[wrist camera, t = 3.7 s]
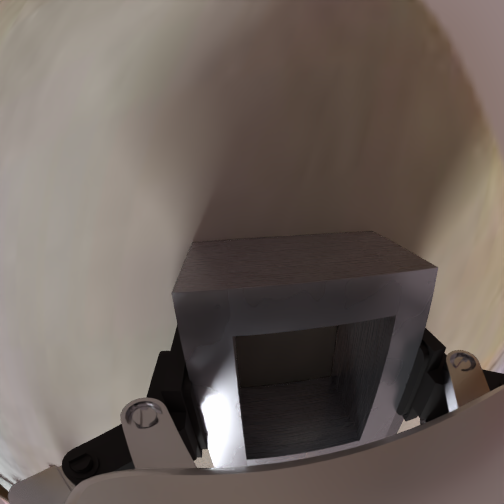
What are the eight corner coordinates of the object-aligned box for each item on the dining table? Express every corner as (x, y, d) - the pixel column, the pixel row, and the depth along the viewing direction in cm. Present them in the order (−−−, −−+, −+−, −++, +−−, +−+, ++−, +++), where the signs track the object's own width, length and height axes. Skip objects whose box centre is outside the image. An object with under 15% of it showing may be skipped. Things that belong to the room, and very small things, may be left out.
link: (192, 242, 10) (171, 292, 6) (372, 231, 10) (437, 267, 6) (216, 406, 12) (217, 475, 8) (350, 388, 13) (379, 447, 9)
